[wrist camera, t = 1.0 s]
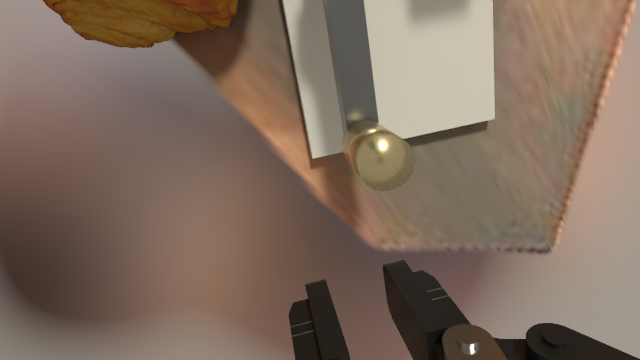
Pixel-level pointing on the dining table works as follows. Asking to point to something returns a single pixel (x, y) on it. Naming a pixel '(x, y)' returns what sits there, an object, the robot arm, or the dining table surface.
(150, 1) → the croissant
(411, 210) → the dining table surface
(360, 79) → the bar
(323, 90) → the plate
